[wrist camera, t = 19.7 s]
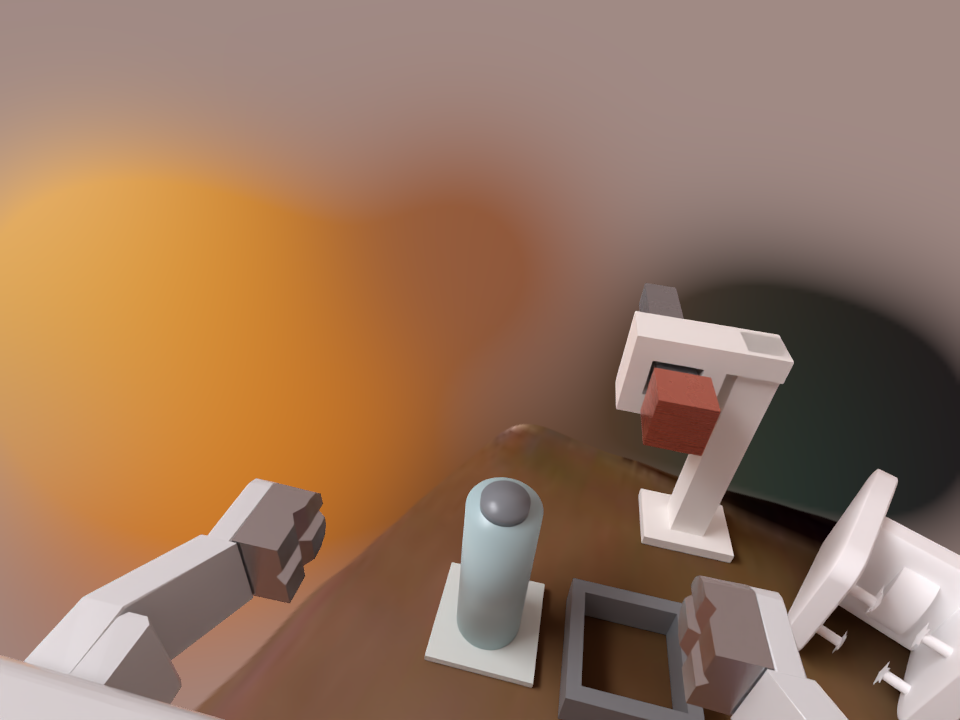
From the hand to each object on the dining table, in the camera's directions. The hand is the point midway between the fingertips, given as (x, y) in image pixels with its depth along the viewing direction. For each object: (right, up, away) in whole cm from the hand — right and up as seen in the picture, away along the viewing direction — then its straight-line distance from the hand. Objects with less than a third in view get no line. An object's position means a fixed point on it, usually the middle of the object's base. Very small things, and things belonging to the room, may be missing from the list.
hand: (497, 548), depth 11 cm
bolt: (+15, +3, +34) cm, 37 cm away
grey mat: (0, -17, +30) cm, 34 cm away
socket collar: (+10, -19, +28) cm, 35 cm away
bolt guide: (+17, -12, +40) cm, 45 cm away
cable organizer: (+31, -19, +32) cm, 49 cm away
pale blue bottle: (0, -16, +30) cm, 34 cm away
